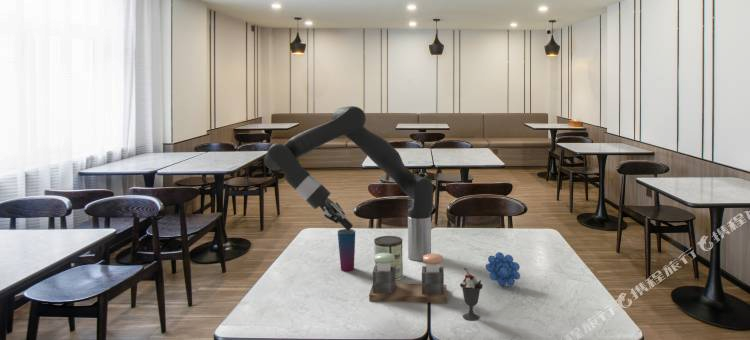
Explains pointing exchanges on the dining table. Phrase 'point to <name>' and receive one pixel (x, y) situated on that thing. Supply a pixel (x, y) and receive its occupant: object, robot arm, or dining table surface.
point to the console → (408, 287)
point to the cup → (346, 248)
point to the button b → (432, 262)
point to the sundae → (471, 295)
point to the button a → (384, 261)
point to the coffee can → (391, 251)
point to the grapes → (503, 269)
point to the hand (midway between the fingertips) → (350, 228)
